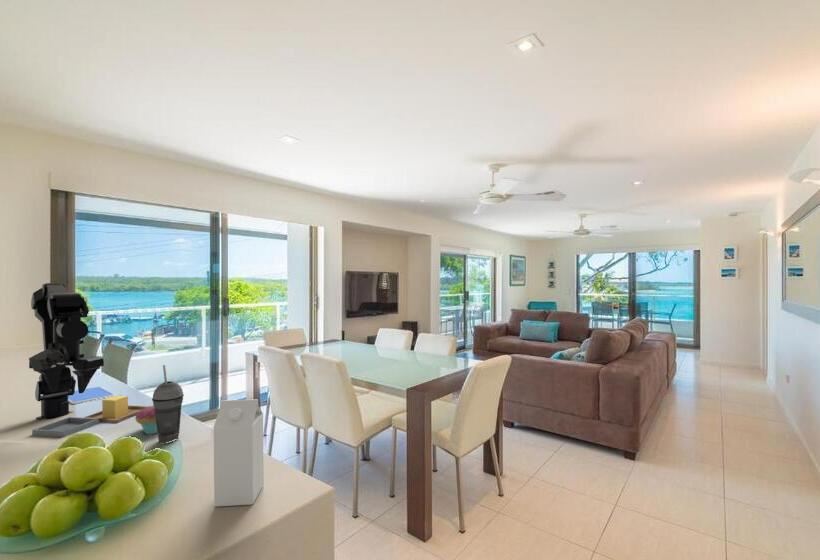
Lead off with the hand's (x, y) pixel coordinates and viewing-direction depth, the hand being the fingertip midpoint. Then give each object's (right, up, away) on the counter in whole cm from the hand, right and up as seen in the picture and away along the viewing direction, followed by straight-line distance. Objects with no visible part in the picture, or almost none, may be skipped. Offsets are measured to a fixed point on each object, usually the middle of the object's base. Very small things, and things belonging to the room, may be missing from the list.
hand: (67, 392), depth 112 cm
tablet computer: (-23, -12, +34) cm, 43 cm away
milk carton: (+64, -11, -35) cm, 74 cm away
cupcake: (+25, -11, -1) cm, 28 cm away
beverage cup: (+33, -11, -7) cm, 36 cm away
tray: (+6, -11, +12) cm, 17 cm away
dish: (0, -11, 0) cm, 11 cm away
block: (+6, -10, +11) cm, 16 cm away
